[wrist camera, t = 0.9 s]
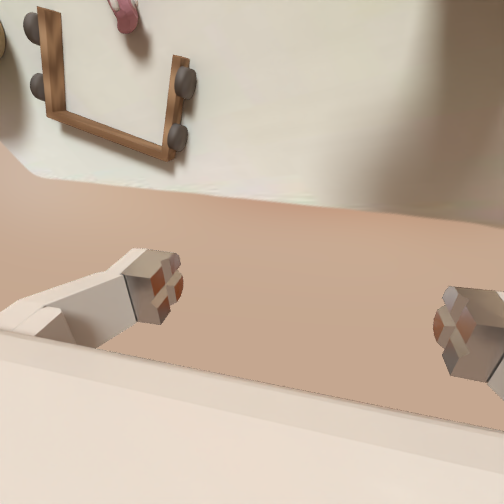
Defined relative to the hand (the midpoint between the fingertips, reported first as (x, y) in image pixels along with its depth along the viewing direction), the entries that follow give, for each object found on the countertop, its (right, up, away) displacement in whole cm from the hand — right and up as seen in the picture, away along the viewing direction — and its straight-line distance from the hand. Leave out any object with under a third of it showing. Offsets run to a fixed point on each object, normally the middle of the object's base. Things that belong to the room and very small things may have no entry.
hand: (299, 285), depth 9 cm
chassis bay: (-23, +28, +39) cm, 53 cm away
